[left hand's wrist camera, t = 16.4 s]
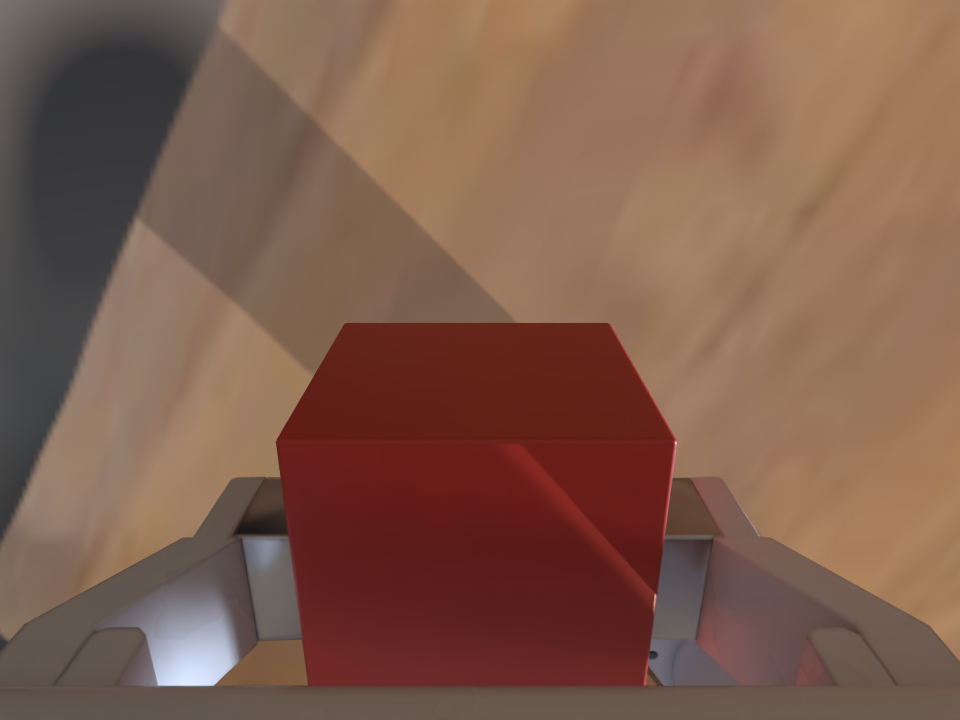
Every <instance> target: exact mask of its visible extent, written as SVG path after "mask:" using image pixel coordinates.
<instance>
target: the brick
mask: <svg viewBox="0 0 960 720" xmlns="http://www.w3.org/2000/svg"><path fill="white" fill-rule="evenodd" d="M276 446H277V454H278V461H279V469H280V476H281V484H282V491H283V499H284V506H285V514H286V521H287V529H288V537H289V544H290V552H291V559H292V567H293V574H294V582H295V589H296V597H297V604H298V612H299V619H300V627H301V634H302V642H303V649H304V657H305V664H306V672H307V680H308V686H645V685H646V678H647V670H648V662H649V654H650V647H651V639H652V631H653V624H654V616H655V608H656V600H657V593H658V585H659V577H660V570H661V562H662V554H663V547H664V539H665V531H666V523H667V516H668V508H669V500H670V493H671V485H672V477H673V469H674V462H675V454H676V446H677V441H676V438H675V437H674V435H673V433H672V431H671V430H670V428H669V426H668V424H667V423H666V421H665V419H664V417H663V416H662V414H661V412H660V410H659V409H658V407H657V405H656V403H655V402H654V400H653V398H652V396H651V395H650V393H649V391H648V389H647V388H646V386H645V384H644V382H643V381H642V379H641V377H640V375H639V374H638V372H637V370H636V368H635V367H634V365H633V363H632V361H631V360H630V358H629V356H628V354H627V353H626V351H625V349H624V347H623V346H622V344H621V342H620V340H619V339H618V337H617V335H616V333H615V332H614V330H613V328H612V327H611V325H610V324H609V323H346V324H344V326H343V327H342V329H341V331H340V333H339V334H338V336H337V338H336V339H335V341H334V343H333V345H332V346H331V348H330V350H329V351H328V353H327V355H326V356H325V358H324V360H323V362H322V363H321V365H320V367H319V368H318V370H317V372H316V374H315V375H314V377H313V379H312V380H311V382H310V384H309V385H308V387H307V389H306V391H305V392H304V394H303V396H302V397H301V399H300V401H299V403H298V404H297V406H296V408H295V409H294V411H293V413H292V414H291V416H290V418H289V420H288V421H287V423H286V425H285V426H284V428H283V430H282V432H281V433H280V435H279V437H278V438H277V441H276Z"/></svg>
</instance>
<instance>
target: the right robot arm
mask: <svg viewBox="0 0 960 720" xmlns="http://www.w3.org/2000/svg"><path fill="white" fill-rule="evenodd" d="M696 642H697V641H687V640H651V647H650V651H654V652H652V653H650V654H649V662H648V666H649V668H650V669H651V670H652V672H653V673H654V674H655V675H656V677H657V678H658V679H659V681H660V682H661V683H662V684H663V686H740V685H739V684H738V683H737V682H736V681H735V680H734V679H733V678H732V677H731V676H730V675H729V674H728V673H727V672H726V671H725V670H724V669H722V668H721V667H720V666H719V665H718V664H717V663H716V662H715V661H714V660H713V659H712V658H711V657H710V656H709V655H708V654H707V653H706V652H705V651H704V650H703V649H702V648H701V647H700V646H699V645H697V644H696Z"/></svg>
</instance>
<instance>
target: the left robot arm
mask: <svg viewBox="0 0 960 720" xmlns="http://www.w3.org/2000/svg"><path fill="white" fill-rule="evenodd" d="M267 640H302V634H301V627H300V619H299V612H298V604H297V597H296V589H295V582H294V574H293V567H292V559H291V552H290V544H289V537H288V529H287V521H286V514H285V506H284V499H283V491H282V484H281V478H280V477H268V478H266V477H237V478H234V479H232V480H231V481H230V482H229V484H228V485H227V487H226V488H225V490H224V491H223V493H222V494H221V496H220V497H219V499H218V500H217V502H216V503H215V505H214V506H213V508H212V509H211V511H210V512H209V514H208V515H207V517H206V519H205V520H204V522H203V523H202V525H201V526H200V528H199V529H198V531H197V532H196V534H195V535H194V537H193V538H182V539H180V540H178V541H176V542H174V543H173V544H171V545H169V546H167V547H165V548H163V549H162V550H160V551H158V552H156V553H154V554H152V555H151V556H149V557H147V558H145V559H143V560H141V561H140V562H138V563H136V564H134V565H132V566H130V567H129V568H127V569H125V570H123V571H121V572H119V573H118V574H116V575H114V576H112V577H110V578H108V579H107V580H105V581H103V582H101V583H99V584H97V585H96V586H94V587H92V588H90V589H88V590H86V591H85V592H83V593H81V594H79V595H77V596H75V597H74V598H72V599H70V600H68V601H66V602H64V603H63V604H61V605H59V606H57V607H55V608H53V609H52V610H50V611H48V612H46V613H44V614H43V615H41V616H39V617H37V618H35V619H33V620H32V621H30V622H28V623H26V624H24V625H23V626H22V627H21V629H20V630H19V631H18V632H17V633H16V634H15V635H14V637H13V638H12V639H11V640H10V641H9V642H8V644H7V645H6V646H5V647H4V648H3V649H2V650H1V652H0V720H960V661H959V660H958V659H957V658H956V656H955V655H954V654H953V653H952V652H951V650H950V649H949V648H948V647H947V646H946V645H945V643H944V642H943V641H942V640H941V639H940V637H939V636H938V635H937V634H936V633H935V632H934V630H933V629H932V628H931V627H930V626H929V625H927V624H926V623H924V622H922V621H920V620H918V619H917V618H915V617H913V616H911V615H909V614H907V613H906V612H904V611H902V610H900V609H898V608H897V607H895V606H893V605H891V604H889V603H888V602H886V601H884V600H882V599H880V598H879V597H877V596H875V595H873V594H871V593H870V592H868V591H866V590H864V589H862V588H860V587H859V586H857V585H855V584H853V583H851V582H850V581H848V580H846V579H844V578H842V577H841V576H839V575H837V574H835V573H833V572H832V571H830V570H828V569H826V568H824V567H823V566H821V565H819V564H817V563H815V562H813V561H812V560H810V559H808V558H806V557H804V556H803V555H801V554H799V553H797V552H795V551H794V550H792V549H790V548H788V547H786V546H785V545H783V544H781V543H779V542H777V541H775V540H774V539H772V538H761V537H760V536H759V534H758V533H757V531H756V530H755V528H754V527H753V525H752V524H751V522H750V521H749V519H748V517H747V516H746V514H745V513H744V511H743V510H742V508H741V507H740V505H739V504H738V502H737V501H736V499H735V498H734V496H733V494H732V493H731V491H730V490H729V488H728V487H727V485H726V484H725V482H724V481H723V479H721V478H719V477H694V478H672V485H671V493H670V500H669V508H668V516H667V523H666V531H665V539H664V547H663V554H662V562H661V570H660V577H659V585H658V593H657V600H656V608H655V616H654V624H653V631H652V639H651V640H687V641H697V642H696V644H697V645H699V646H700V647H701V648H702V649H703V650H704V651H705V652H706V653H707V654H708V655H709V656H710V657H711V658H712V659H713V660H714V661H715V662H716V663H717V664H718V665H719V666H720V667H721V668H722V669H724V670H725V671H726V672H727V673H728V674H729V675H730V676H731V677H732V678H733V679H734V680H735V681H736V682H737V683H738V684H739V685H740V686H214V685H215V684H216V683H217V682H218V681H219V680H220V679H221V678H222V677H223V676H224V675H225V674H226V673H227V672H228V671H230V670H231V669H232V668H233V667H234V666H235V665H236V664H237V663H238V662H239V661H240V660H241V659H242V658H243V657H244V656H245V655H246V654H247V653H248V652H250V651H251V650H252V649H253V648H254V647H255V646H256V645H257V641H267Z"/></svg>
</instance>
